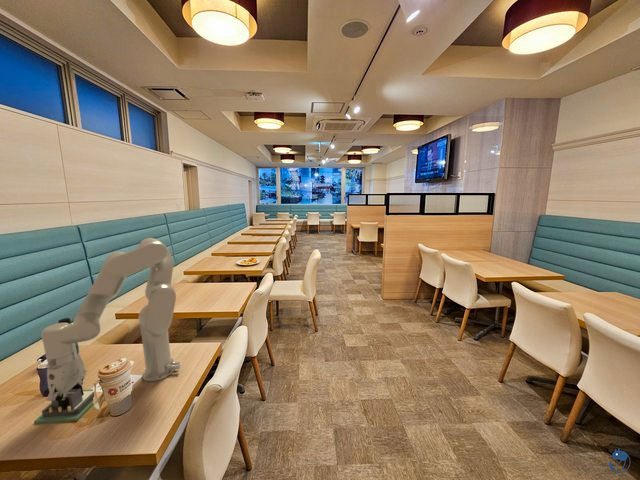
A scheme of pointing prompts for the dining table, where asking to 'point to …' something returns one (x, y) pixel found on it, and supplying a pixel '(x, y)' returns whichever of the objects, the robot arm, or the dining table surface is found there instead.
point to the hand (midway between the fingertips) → (71, 401)
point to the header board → (67, 410)
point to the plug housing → (70, 399)
